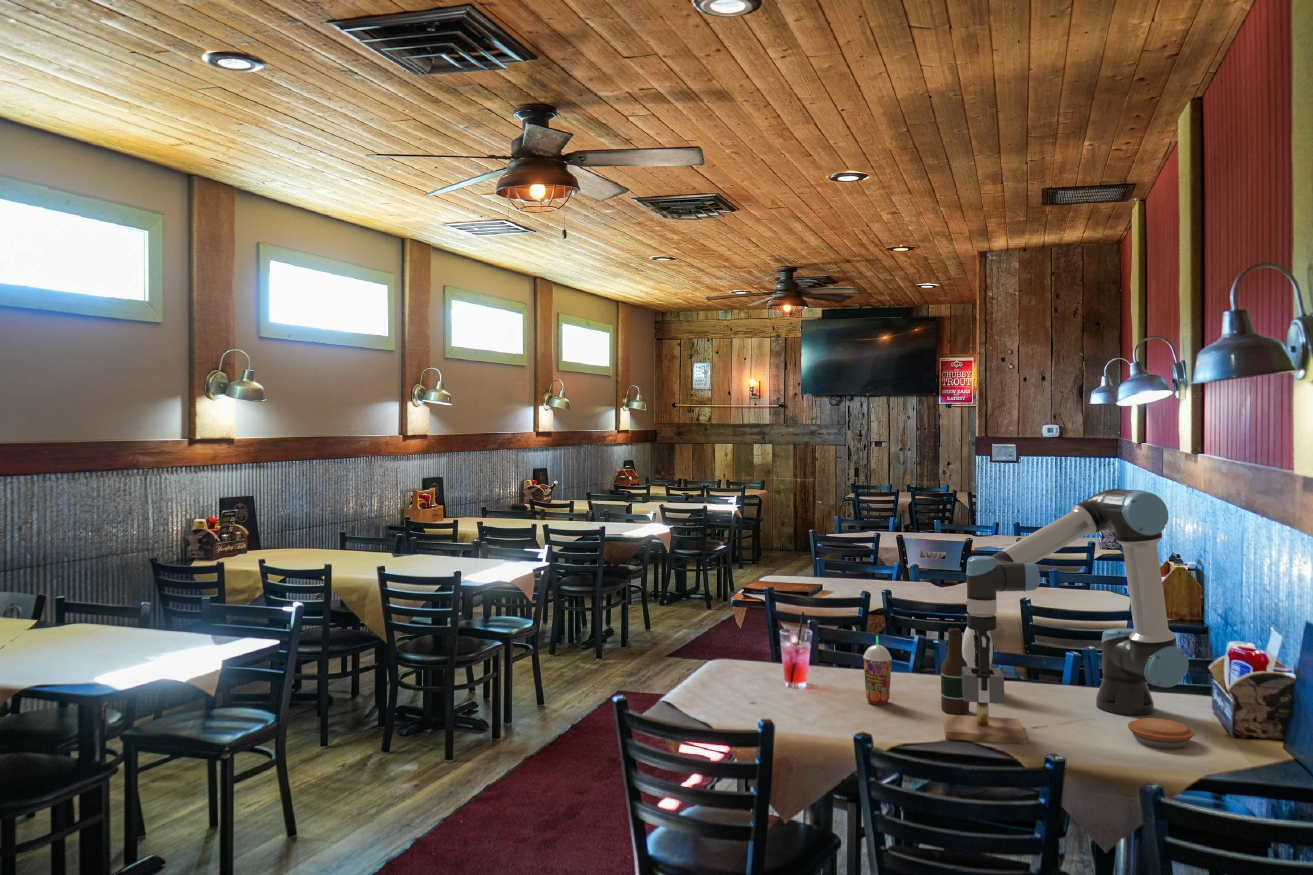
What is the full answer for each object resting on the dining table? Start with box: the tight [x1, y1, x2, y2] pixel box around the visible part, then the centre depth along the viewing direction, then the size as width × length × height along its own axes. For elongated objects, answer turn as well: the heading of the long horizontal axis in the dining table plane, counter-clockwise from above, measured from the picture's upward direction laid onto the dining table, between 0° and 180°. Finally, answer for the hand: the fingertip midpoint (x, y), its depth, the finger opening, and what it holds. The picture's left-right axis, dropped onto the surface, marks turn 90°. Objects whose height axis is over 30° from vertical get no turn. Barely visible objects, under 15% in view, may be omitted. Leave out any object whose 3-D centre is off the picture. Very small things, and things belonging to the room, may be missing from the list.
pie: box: [1127, 717, 1196, 750], centre depth 250 cm, size 16×16×5 cm
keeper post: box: [976, 702, 990, 727], centre depth 259 cm, size 3×3×8 cm
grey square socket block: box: [962, 666, 1005, 705], centre depth 259 cm, size 10×10×7 cm
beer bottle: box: [940, 627, 970, 715], centre depth 279 cm, size 8×8×24 cm
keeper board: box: [942, 713, 1027, 745], centre depth 259 cm, size 20×16×2 cm
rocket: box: [961, 626, 994, 668], centre depth 299 cm, size 11×11×25 cm
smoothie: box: [862, 635, 893, 706], centre depth 289 cm, size 8×8×20 cm
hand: (982, 696), depth 259 cm, fingers closed on grey square socket block, 10 cm apart
